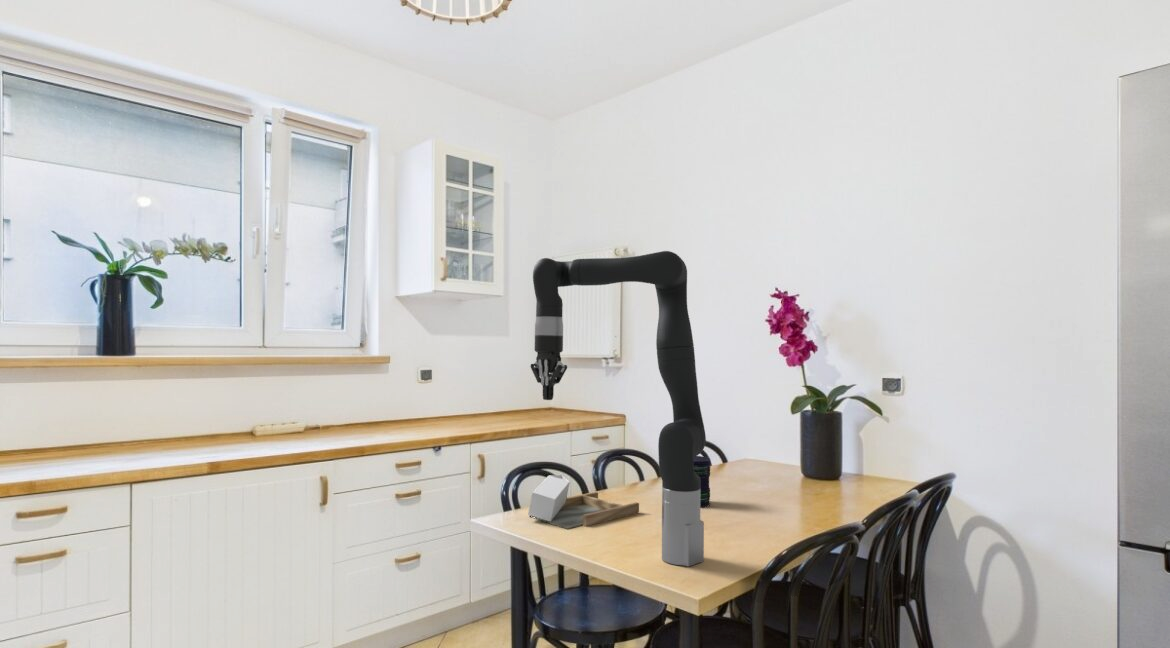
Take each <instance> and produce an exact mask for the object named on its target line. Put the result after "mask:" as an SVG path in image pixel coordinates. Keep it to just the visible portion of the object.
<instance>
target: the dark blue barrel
mask: <svg viewBox="0 0 1170 648" xmlns="http://www.w3.org/2000/svg"><path fill="white" fill-rule="evenodd" d="M693 460H694V472H695V474H697V475H698V476H699V477H700V479H701V492H700V507H702V508H704V507H703V506H708V505H709V506H711V505H710V504H711V502H710V500H711V499H710V498H711V488H710V476H711V463H710V462H711V458H709V457H707V456H701V455H697V456H695V457H693ZM709 506H708V507H709Z"/></svg>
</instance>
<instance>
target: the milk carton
mask: <svg viewBox="0 0 1170 648" xmlns="http://www.w3.org/2000/svg"><path fill="white" fill-rule="evenodd" d="M570 483H571V481H570V480H568V479H567V478H566V477H565V476H564V473H562V474H550V475H547V477H546V478H544V480H543V481H542V482H541V483H540V484H539V485H538V486H537V487H536V488H535V489H534V490H533V491H532V494H531V497H530V503H529V508H528V515H529V516H530V515H531V516H534V517H537V518H540V519H543V520H546V521H550V522H551V521H552V519H553V518H554V517H555V515H556V514H557V513H558V512H559V510H560V509H561V508H562V506H563V505H564V504H565V503H566V498H568V497H567V496H568V494H569V493H568V492H569V487H570Z"/></svg>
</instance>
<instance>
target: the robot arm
mask: <svg viewBox="0 0 1170 648" xmlns="http://www.w3.org/2000/svg"><path fill="white" fill-rule="evenodd" d="M532 281H533V288H534V294H535V299H536V305H535V306H536V307H535V308H536V310H535V323H534V351H535V353H536V354H537V355H536V358H535V360H536V361H535V362H534V363H531V364H530V369H531V371H532V374H533V376H534V377H535V380H536V382H537V383H538V384H541V386H542V399H543V400H544V401H552V400H553V399H554V394H555V393H554V391H555V389H554V386H555V385H557V384H560V382H561V380H562V378H563V376H564V374H565V373H566V371H567V369H568V365H567V364H564V363H562V357H561V353H562V352H563V351H564V323H563V322H564V321H563V309H564V308H563V299H562V297H561V296H560V294H559V288H562V287H563V288H564V287H570V286H571V287H572V286H604V285H610V284H611V285H612V284H618V283H619V284H620V283H628V282H629V283H630V282H631V283H632V282H634V283H644V284H650V285H651V284H652V285H654V288H655V291H656V298H657V303H658V319H657V321H658V323H657V328H656V341H655V345H656V355H657V366H658V370H659V374H660V376H661V378H662V382H663V384H664V386H665V388H666V390H667V391H668V394H669V397H670V401H671V405H672V414H673V415H672V416H673V417H672V418H673V420H672V421H673V422H669V423H668V424H665V425H664V426H663V427H662V429H661V431H660V433H659V437H658V446H657V447H658V449H657V450H658V471H659V476H660V478H661V483H662V486H661V487H662V488H661V490H662V491H661V496H662V497H661V560H662V561H664V562H665V563H668V564H671V565H677V566H684V567H691V566H694V565H697V564H700V563H702V562H704V559H705V554H704V553H705V551H704V550H705V548H704V547H705V546H704V545H705V544H704V543H705V541H704V540H705V537H704V536H705V532H704V531H705V522H704V520H701V508H700V492H701V479H700V477H699V476H698V475H697V474H695V472H694V460H693V457H695V456H700V454H701V453H702V452H703V451H704V449H705V446H706V442H707V438H706V431H705V425H704V421H703V419H704V418H703V416H702V411H701V406H700V405H701V404H700V400H699V399H700V398H699V388H698V387H699V386H698V380H697V379H698V378H697V370H696V369H697V368H696V358H695V357H696V356H695V347H694V346H695V345H694V340H693V331H692V326H691V321H690V315H689V310H688V269H687V265H686V263H685V261H684V260H683V259H682V258H681V257H680V255H678V254H677V253H675V252H673V251H670V250H663V251H658V252H652V253H646V254H642V255H637V256H629V257H627V256H626V257H614V258H613V257H609V258H607V257H606V258H605V257H602V258H599V257H598V258H593V257H592V258H576V259H573V260H572V261H567V260H566V261H558V260H555V259H552V258H549V257H544V258H541V259H539V260H538V261H536V263H535V265H534V266H533V271H532Z"/></svg>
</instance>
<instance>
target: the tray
mask: <svg viewBox="0 0 1170 648" xmlns="http://www.w3.org/2000/svg"><path fill="white" fill-rule="evenodd" d="M638 512H639V513H640V503H639V502H636V501H635V502H632V503H627V504H624V505H623V504H619V503H615V502H611V501H608V500H605V499H600V498H599V492H597V491H593V492H589V493H584V494H579V495H575V496H569V497H567V498H566V503H565V504H564V505H563V506H562V508H561V509H560V510H559V512H558V513H557V514H556V515H555V517H554V518H553V519H552V521H551V522H550V521H546V520H543V519H540V518H538V519H540V520H539V521H541V520H543V521H542V522H544V521H546V522H549V523H551V524H550V525H552V524H554V525H553V526H555V525H557V526H556V527H558V526H559V527H558V528H561V527H562V528H561V529H564V528H565V529H564V530H570V528H571V529H574V528H573V527H575V528H578V527H577V526H579V527H581V526H580V525H584V526H583V527H588V526H587V525H589V526H593V525H596V524H595V523H597V524H600V523H599V522H601V523H604V522H603V521H605V522H608V521H607V520H609V521H611V520H610V519H613V520H616V519H615V518H617V519H619V518H618V517H621V518H623V517H622V516H625V517H627V516H626V515H629V516H631V515H630V514H633V515H635V514H634V513H636V514H639V513H638ZM530 516H531V515H529V517H530ZM532 517H534V516H532ZM532 517H531V518H532ZM535 518H537V517H535ZM535 518H534V519H535ZM538 519H537V520H538ZM546 522H545V523H546ZM549 523H548V524H549ZM592 524H593V525H592Z"/></svg>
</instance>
